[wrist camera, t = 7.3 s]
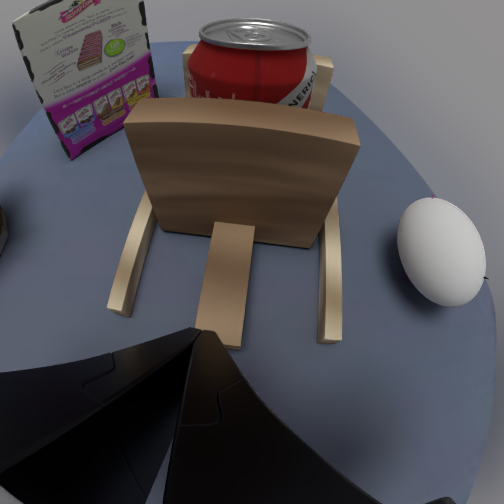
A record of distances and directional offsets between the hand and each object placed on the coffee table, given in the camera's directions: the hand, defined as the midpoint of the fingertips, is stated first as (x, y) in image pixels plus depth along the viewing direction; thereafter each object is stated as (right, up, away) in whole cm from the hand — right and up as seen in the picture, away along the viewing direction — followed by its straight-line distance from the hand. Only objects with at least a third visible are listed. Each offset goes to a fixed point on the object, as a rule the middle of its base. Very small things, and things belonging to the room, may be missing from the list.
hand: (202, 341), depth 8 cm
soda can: (+1, +8, +13) cm, 15 cm away
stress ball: (+14, +1, +10) cm, 18 cm away
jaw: (0, +1, +9) cm, 9 cm away
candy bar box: (-14, +16, +16) cm, 26 cm away
